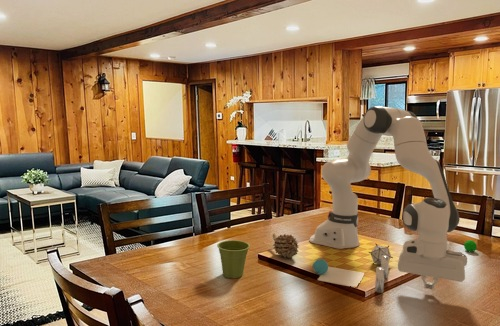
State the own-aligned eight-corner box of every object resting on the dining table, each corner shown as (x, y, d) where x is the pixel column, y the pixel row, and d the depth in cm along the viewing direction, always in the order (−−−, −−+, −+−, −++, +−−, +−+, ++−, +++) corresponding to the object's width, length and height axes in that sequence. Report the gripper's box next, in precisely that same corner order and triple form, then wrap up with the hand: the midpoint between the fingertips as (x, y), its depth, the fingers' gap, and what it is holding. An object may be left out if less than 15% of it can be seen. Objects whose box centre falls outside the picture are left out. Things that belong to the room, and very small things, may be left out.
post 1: (374, 292, 133) (375, 269, 132) (375, 289, 135) (376, 266, 134) (382, 293, 132) (383, 270, 131) (383, 290, 134) (384, 267, 133)
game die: (380, 275, 156) (377, 260, 150) (366, 261, 162) (362, 246, 156) (398, 263, 157) (396, 248, 151) (383, 249, 164) (381, 234, 158)
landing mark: (317, 280, 142) (317, 279, 142) (327, 266, 154) (327, 266, 154) (357, 288, 136) (357, 287, 136) (364, 273, 148) (364, 273, 148)
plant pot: (237, 284, 137) (238, 252, 136) (210, 276, 144) (210, 246, 142) (255, 273, 147) (255, 243, 146) (229, 266, 154) (229, 238, 152)
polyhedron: (471, 253, 171) (471, 243, 171) (461, 250, 176) (461, 239, 175) (479, 252, 173) (479, 241, 173) (468, 248, 178) (469, 238, 177)
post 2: (379, 278, 144) (380, 257, 143) (380, 275, 146) (381, 254, 145) (387, 279, 143) (388, 258, 142) (388, 277, 145) (389, 255, 144)
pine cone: (304, 261, 159) (305, 237, 158) (283, 264, 156) (284, 240, 155) (280, 244, 180) (280, 223, 178) (260, 247, 176) (260, 225, 175)
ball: (322, 279, 145) (308, 271, 147) (326, 273, 149) (313, 266, 151) (328, 267, 143) (314, 259, 145) (332, 261, 148) (318, 254, 150)
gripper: (467, 250, 129) (463, 291, 131) (400, 240, 138) (397, 279, 139) (468, 256, 123) (464, 298, 125) (398, 246, 132) (395, 286, 134)
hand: (429, 288), depth 132 cm, fingers closed
